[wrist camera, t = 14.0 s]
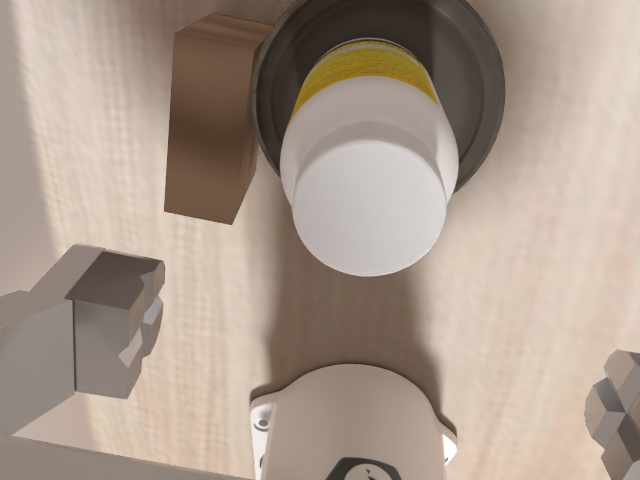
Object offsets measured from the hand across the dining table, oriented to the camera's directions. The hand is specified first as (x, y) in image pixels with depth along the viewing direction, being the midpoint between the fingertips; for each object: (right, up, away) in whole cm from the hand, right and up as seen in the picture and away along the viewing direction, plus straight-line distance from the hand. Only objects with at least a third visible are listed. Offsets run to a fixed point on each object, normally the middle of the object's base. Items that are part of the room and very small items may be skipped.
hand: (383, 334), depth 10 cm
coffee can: (+2, +14, +25) cm, 29 cm away
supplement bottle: (+1, +7, +13) cm, 15 cm away
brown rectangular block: (-7, +11, +27) cm, 30 cm away
